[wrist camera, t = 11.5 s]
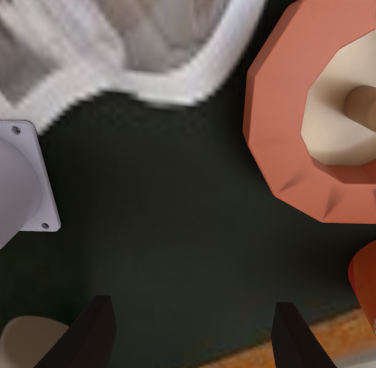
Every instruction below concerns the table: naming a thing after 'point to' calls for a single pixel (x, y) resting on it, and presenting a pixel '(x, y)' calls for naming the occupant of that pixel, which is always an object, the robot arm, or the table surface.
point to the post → (344, 107)
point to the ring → (295, 106)
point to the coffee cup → (365, 280)
